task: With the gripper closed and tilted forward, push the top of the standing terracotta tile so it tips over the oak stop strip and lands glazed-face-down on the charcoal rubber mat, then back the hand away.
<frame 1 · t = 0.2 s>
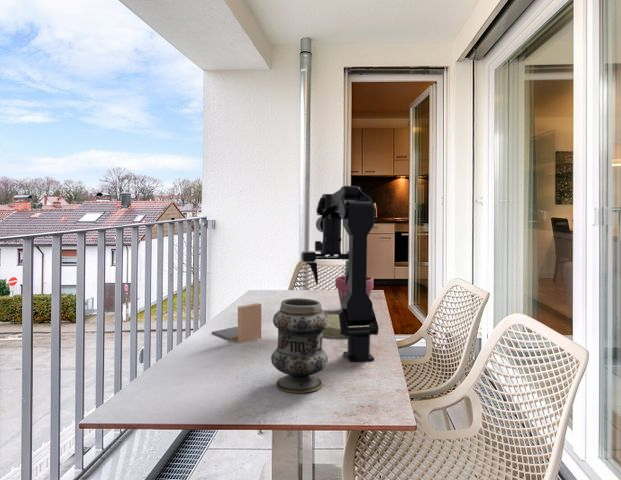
hand: (331, 283, 139), 14 cm above the table, tool pointing down, fingers open, 9 cm apart
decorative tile: (331, 330, 140), on the table
stop strip: (245, 337, 129), on the table
plant pot: (353, 312, 165), on the table
tile: (249, 339, 127), on the table
apothecary jar: (299, 385, 95), on the table
mat: (233, 334, 133), on the table
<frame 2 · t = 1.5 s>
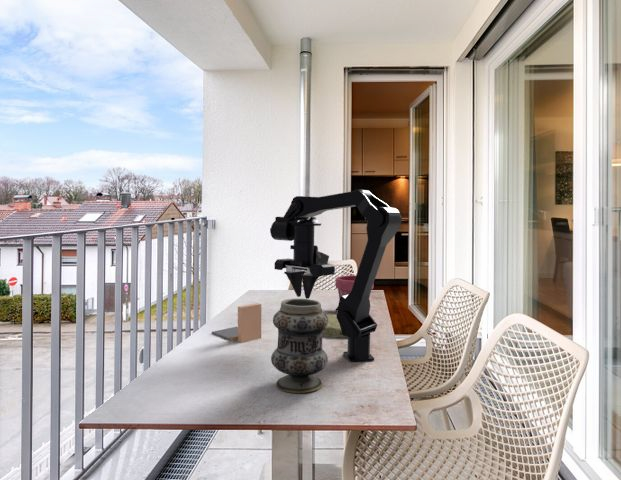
hand: (303, 297, 124), 13 cm above the table, tool pointing down, fingers open, 3 cm apart
nothing on the table moved.
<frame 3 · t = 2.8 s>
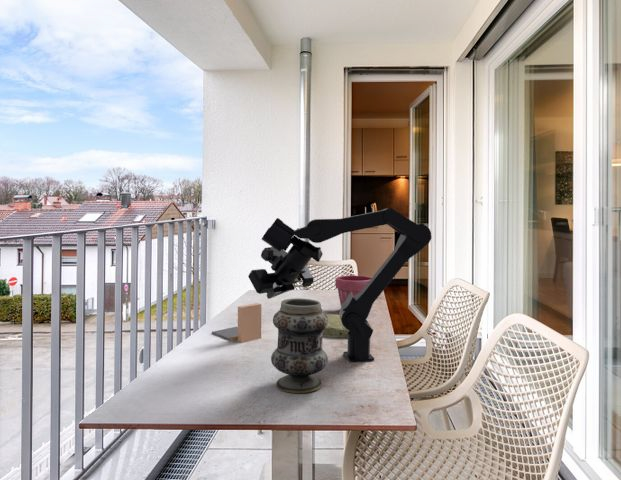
hand: (268, 297, 121), 13 cm above the table, tool tilted 45°, fingers closed
nothing on the table moved.
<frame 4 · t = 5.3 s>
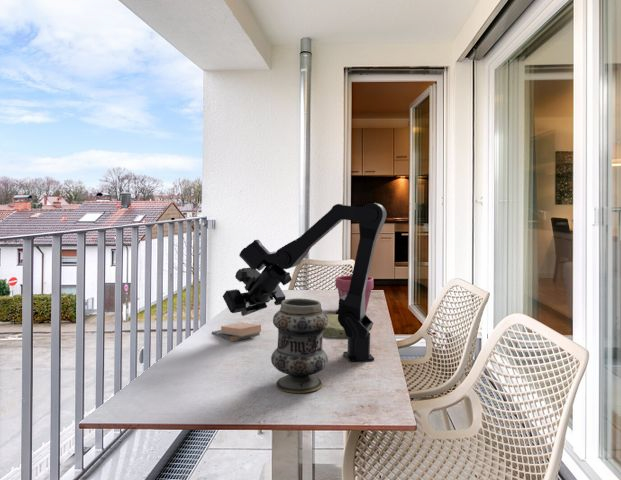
hand: (242, 314, 129), 7 cm above the table, tool tilted 45°, fingers closed
tile: (251, 330, 127), point 3 cm above the table, tilted 96°, touching mat, stop strip
everything else where it was.
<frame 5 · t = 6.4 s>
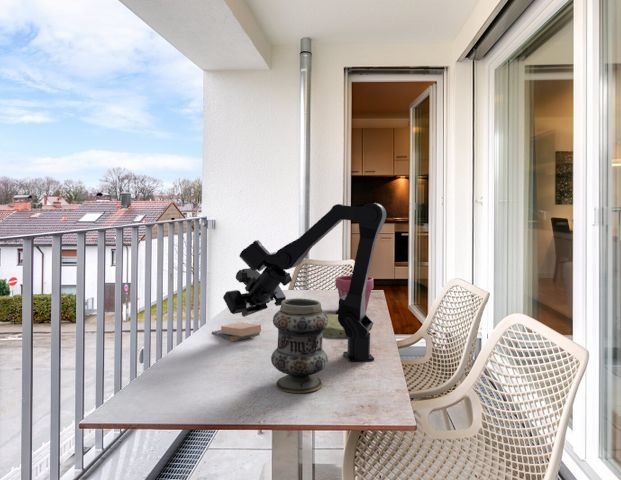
hand: (243, 315, 129), 6 cm above the table, tool tilted 45°, fingers closed
nothing on the table moved.
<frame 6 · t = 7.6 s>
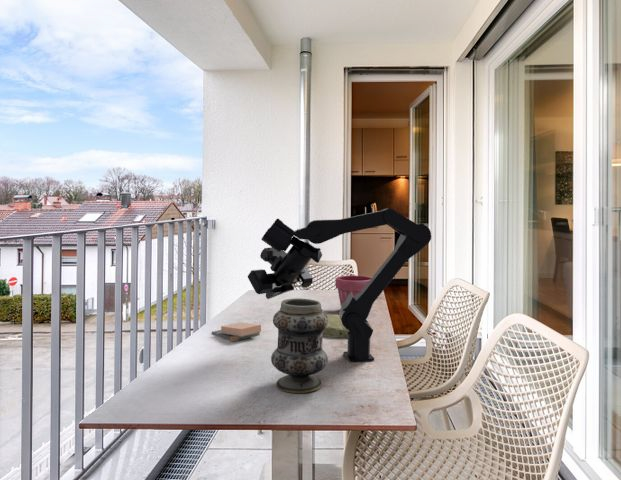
hand: (267, 297, 121), 13 cm above the table, tool tilted 45°, fingers closed
nothing on the table moved.
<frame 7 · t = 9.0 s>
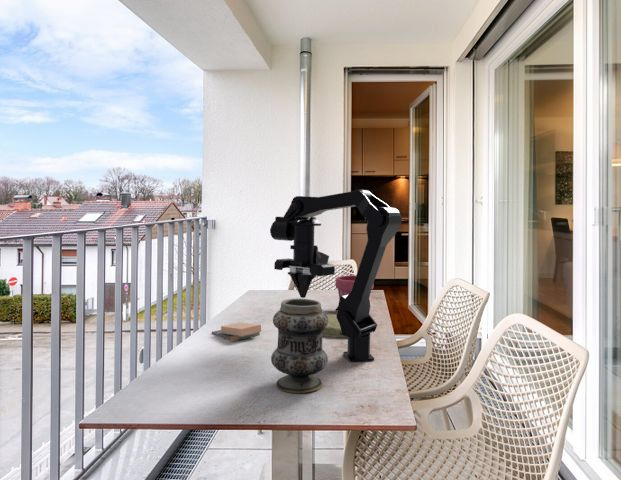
hand: (303, 297, 124), 13 cm above the table, tool pointing down, fingers closed
nothing on the table moved.
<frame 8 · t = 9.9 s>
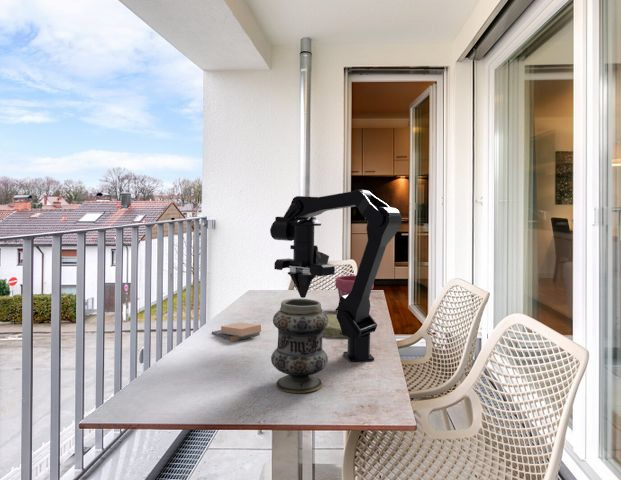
hand: (303, 297, 124), 13 cm above the table, tool pointing down, fingers closed
nothing on the table moved.
at the end: tile tilted 96°; tile 8.4 cm from the mat (horizontally); tile point 2.7 cm above the table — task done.
